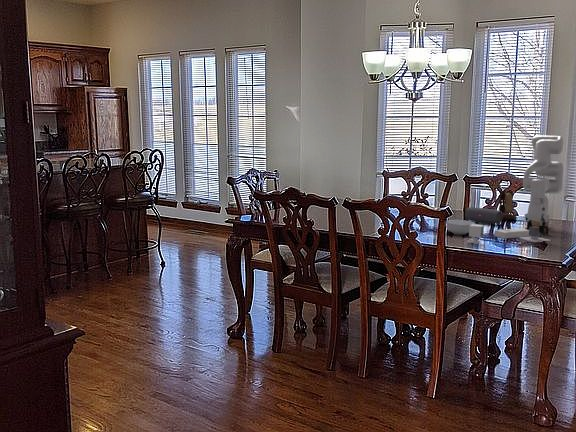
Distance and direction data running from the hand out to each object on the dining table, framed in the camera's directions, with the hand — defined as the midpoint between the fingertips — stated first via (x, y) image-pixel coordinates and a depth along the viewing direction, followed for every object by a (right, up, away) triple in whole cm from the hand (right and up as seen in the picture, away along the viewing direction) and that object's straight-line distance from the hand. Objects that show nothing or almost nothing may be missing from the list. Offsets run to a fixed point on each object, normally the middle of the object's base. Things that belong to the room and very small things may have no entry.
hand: (535, 231), depth 337 cm
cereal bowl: (-37, -2, +20) cm, 42 cm away
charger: (0, -4, +1) cm, 4 cm away
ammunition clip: (+10, -2, +19) cm, 22 cm away
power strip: (-6, -3, +12) cm, 14 cm away
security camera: (-37, -7, -9) cm, 39 cm away
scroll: (+9, +6, +72) cm, 73 cm away
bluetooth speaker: (-11, +4, +57) cm, 58 cm away
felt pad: (0, -5, +1) cm, 5 cm away
